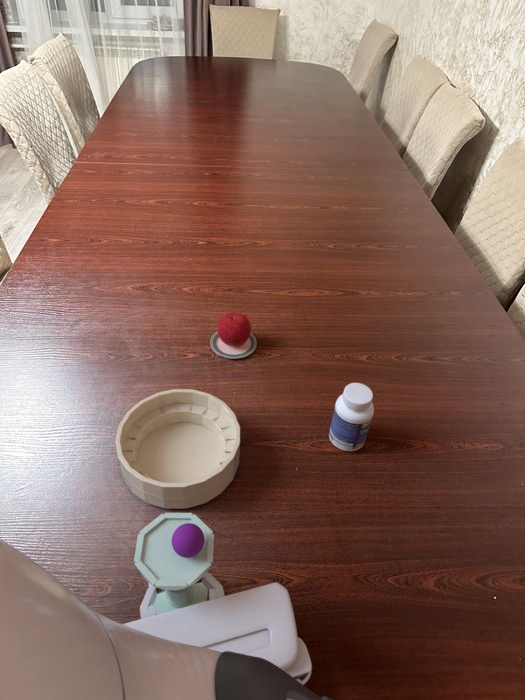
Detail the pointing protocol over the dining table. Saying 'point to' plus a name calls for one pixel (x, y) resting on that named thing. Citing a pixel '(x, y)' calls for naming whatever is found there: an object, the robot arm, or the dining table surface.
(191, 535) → the ball
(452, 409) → the dining table surface
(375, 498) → the dining table surface
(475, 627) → the dining table surface
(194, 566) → the pedestal stand
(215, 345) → the apple
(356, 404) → the pill bottle
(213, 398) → the bowl
